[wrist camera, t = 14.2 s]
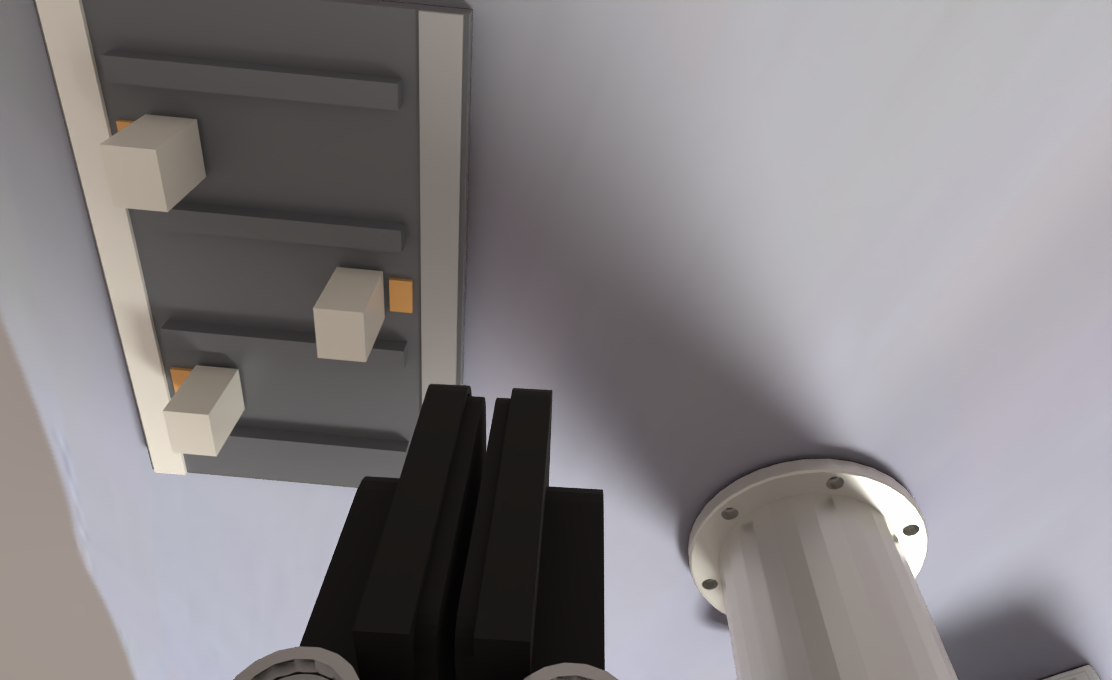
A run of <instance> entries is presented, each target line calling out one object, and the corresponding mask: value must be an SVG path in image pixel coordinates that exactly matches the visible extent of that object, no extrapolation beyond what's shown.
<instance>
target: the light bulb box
mask: <svg viewBox="0 0 1112 680" xmlns="http://www.w3.org/2000/svg"><path fill="white" fill-rule="evenodd" d="M1043 680H1100V678H1099V677H1098V675H1097V674H1096V672H1095V671H1094V669H1093V668H1092V667H1091V666H1090V665H1086V666H1083V667H1079V668H1076V669H1074V670H1070V671H1067V672H1064V673H1061V674H1058V675H1055V676H1052V677H1049V678H1046V679H1043Z"/></svg>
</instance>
